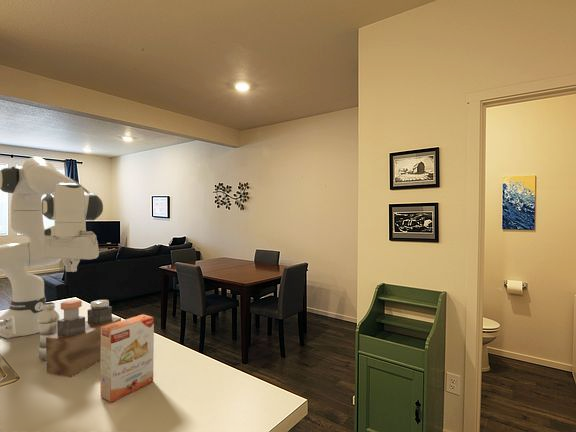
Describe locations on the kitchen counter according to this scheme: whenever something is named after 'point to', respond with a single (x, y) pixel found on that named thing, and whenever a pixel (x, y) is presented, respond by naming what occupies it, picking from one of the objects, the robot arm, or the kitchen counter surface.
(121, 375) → the cracker box
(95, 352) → the stand
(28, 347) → the kitchen counter surface
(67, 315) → the orange ball
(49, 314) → the plastic bottle
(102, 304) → the grey plunger
